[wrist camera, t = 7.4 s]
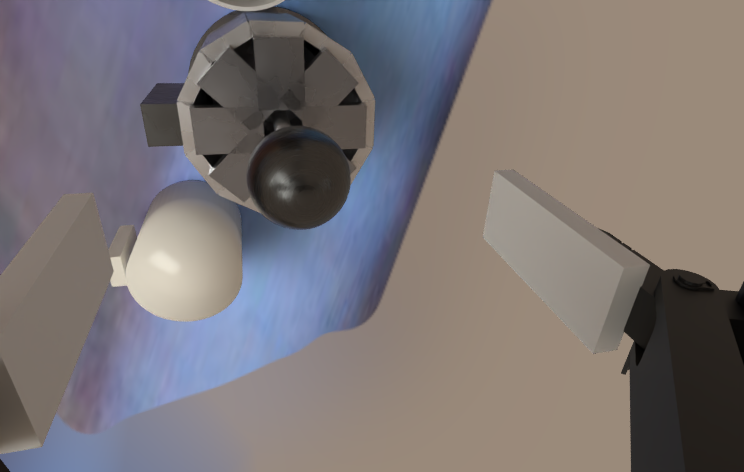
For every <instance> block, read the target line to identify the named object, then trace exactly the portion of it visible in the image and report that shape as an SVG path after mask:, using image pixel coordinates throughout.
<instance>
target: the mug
mask: <svg viewBox="0 0 744 472" xmlns="http://www.w3.org/2000/svg"><path fill="white" fill-rule="evenodd" d="M108 251H109V255H110V259H111V262H112V266H113V270H114V272H113V275H112V277H111V279H110V280H111V284H112V287H115V286H125V285H127V286H128V289H129V291H130V293H131V295H132V296H133V298H134V299H135V300H136V301H137V302H138V303H139V304H140V305H141V306H142V307H143V308H144V309H146V310H147V311H149V312H150V313H152V314H154V315H156V316H159V317H162V318H164V319H169V320H173V321H197V320H202V319H205V318H209V317H211V316H214V315H216V314H218V313H219V312H221V311H222V310H224V309H225V308H227V307H228V306H229V305H230V304H231V303H232V302H233V300H234V299H235V298H236V296H237V295H238V292H239V290H240V288H241V284H242V224H241V214H240V211H239V208H238V206H237V204H236V203H235V202H233V201H231V200H228V199H226V198H224V197H221V196H219V195H218V194H216V193H215V191H214V190H213V189H212V188H211V186H210V185H209V184H208V183H207V182H203V181H196V180H189V181H182V182H177V183H175V184H172V185H170V186H168V187H166V188H165V189H163V190H162V191H160V192H159V193H158V194H157V195H156V197H155V198H154V199H153V201H152V203H151V205H150V207H149V210H148V212H147V215H146V217H145V220H144V222H143V225H142V228H141V230H140V233H139V235H138V238H137V236H136V232H135V227H134V225H126V226H120V227H119V229H118V231H117V233H116V235H115V237H114V239H113V241H112V243H111V246H110V248H109V250H108Z"/></svg>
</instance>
